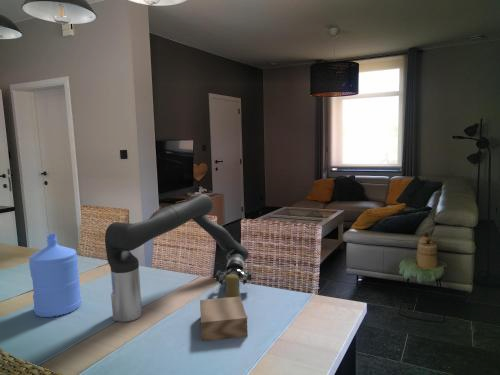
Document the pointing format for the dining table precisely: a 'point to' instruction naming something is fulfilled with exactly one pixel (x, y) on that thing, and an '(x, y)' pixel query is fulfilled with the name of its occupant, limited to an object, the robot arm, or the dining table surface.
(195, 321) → the dining table surface
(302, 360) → the dining table surface
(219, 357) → the dining table surface
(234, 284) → the cork
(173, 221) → the robot arm
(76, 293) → the water jug
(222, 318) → the walnut block
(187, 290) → the dining table surface
